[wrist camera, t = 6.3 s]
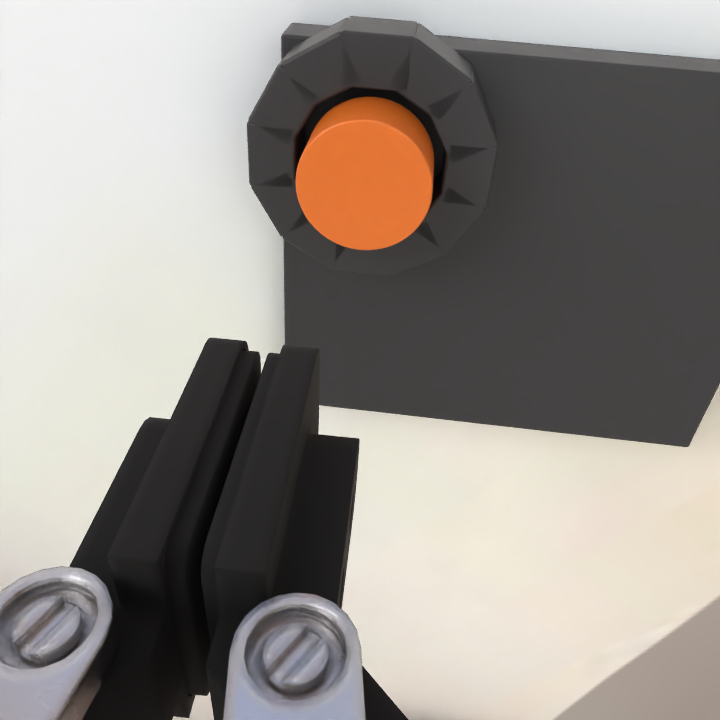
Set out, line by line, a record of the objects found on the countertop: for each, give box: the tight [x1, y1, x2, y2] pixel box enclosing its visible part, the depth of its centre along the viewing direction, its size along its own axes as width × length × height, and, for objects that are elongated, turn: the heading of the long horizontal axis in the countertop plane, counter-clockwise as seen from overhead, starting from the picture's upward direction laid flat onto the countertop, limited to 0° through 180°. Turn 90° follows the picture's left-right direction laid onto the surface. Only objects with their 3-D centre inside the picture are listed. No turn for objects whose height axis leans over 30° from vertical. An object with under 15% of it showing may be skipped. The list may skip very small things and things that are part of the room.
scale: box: [247, 16, 720, 447], centre depth 20 cm, size 14×12×3 cm
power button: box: [296, 97, 434, 250], centre depth 17 cm, size 3×3×2 cm
